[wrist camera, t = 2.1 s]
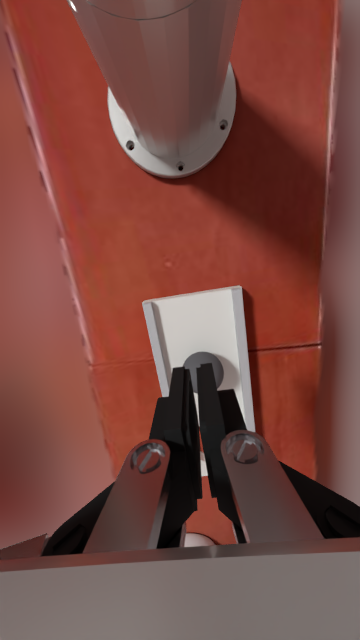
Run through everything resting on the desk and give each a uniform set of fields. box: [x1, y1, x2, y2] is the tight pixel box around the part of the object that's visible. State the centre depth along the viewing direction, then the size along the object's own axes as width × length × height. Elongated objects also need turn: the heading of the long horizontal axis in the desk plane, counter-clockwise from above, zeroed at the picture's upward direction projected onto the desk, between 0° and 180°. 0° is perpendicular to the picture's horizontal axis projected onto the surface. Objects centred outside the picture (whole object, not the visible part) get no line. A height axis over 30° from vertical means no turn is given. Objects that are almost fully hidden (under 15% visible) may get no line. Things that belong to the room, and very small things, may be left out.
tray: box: [142, 285, 255, 476], centre depth 31 cm, size 28×12×2 cm, turn 10°
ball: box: [183, 352, 224, 394], centre depth 27 cm, size 5×5×5 cm
